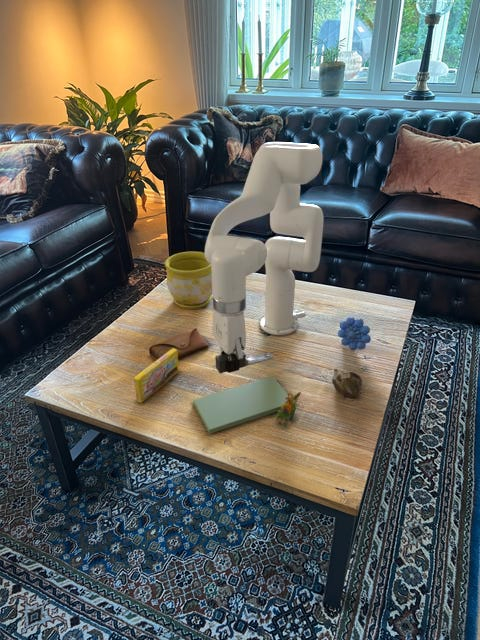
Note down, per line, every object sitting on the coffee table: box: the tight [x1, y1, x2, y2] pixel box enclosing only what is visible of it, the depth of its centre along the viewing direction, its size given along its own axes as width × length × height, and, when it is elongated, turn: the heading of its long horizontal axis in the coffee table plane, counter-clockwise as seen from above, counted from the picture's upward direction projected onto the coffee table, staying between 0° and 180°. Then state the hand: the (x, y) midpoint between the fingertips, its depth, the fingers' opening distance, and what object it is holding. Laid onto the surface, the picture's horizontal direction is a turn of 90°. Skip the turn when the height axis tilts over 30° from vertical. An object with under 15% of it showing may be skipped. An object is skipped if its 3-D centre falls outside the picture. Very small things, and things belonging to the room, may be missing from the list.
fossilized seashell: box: [331, 368, 363, 398], centre depth 122 cm, size 8×7×10 cm
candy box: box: [133, 348, 180, 404], centre depth 122 cm, size 16×2×8 cm, turn 148°
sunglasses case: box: [148, 327, 211, 362], centre depth 139 cm, size 18×7×7 cm, turn 130°
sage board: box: [192, 375, 291, 435], centre depth 117 cm, size 24×12×2 cm, turn 114°
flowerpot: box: [164, 251, 213, 310], centre depth 162 cm, size 18×18×16 cm
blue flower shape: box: [337, 316, 372, 352], centre depth 136 cm, size 12×7×12 cm, turn 40°
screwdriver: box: [215, 350, 274, 374], centre depth 110 cm, size 15×3×4 cm, turn 114°
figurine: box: [275, 391, 302, 428], centre depth 111 cm, size 3×12×8 cm, turn 144°
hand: (230, 366), depth 110 cm, fingers closed on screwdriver, 2 cm apart
